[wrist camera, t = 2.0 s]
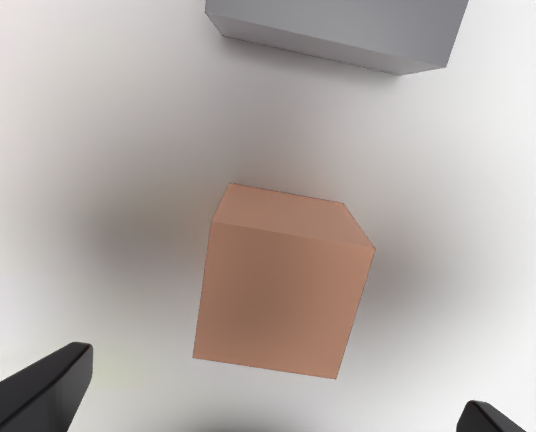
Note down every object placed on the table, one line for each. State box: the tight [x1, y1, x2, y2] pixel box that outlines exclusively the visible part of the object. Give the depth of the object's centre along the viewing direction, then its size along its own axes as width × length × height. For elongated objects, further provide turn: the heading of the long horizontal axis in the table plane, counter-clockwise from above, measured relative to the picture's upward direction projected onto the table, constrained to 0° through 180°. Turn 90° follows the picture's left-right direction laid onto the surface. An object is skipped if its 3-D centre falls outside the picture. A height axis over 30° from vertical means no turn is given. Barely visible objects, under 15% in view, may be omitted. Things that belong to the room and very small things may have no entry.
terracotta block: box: [193, 183, 375, 379], centre depth 14 cm, size 5×5×5 cm
